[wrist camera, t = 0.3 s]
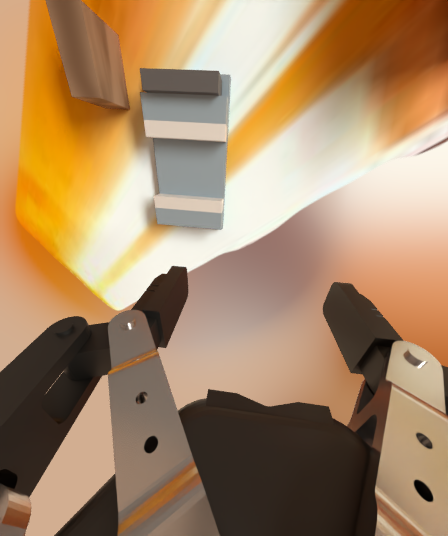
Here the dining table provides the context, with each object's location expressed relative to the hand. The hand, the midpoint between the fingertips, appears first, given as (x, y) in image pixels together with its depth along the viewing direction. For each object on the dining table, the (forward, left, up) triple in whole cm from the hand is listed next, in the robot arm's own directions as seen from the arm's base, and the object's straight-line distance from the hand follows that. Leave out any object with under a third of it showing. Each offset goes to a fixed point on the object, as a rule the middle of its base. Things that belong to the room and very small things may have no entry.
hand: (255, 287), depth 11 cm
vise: (-5, -11, -28) cm, 31 cm away
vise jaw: (-11, -11, -27) cm, 31 cm away
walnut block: (-16, -23, -28) cm, 40 cm away
